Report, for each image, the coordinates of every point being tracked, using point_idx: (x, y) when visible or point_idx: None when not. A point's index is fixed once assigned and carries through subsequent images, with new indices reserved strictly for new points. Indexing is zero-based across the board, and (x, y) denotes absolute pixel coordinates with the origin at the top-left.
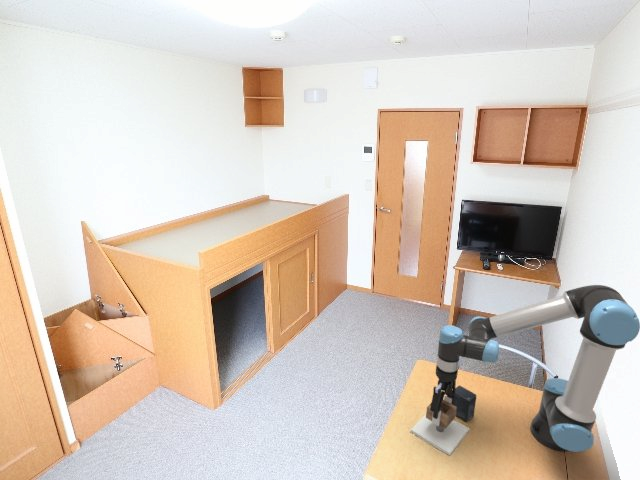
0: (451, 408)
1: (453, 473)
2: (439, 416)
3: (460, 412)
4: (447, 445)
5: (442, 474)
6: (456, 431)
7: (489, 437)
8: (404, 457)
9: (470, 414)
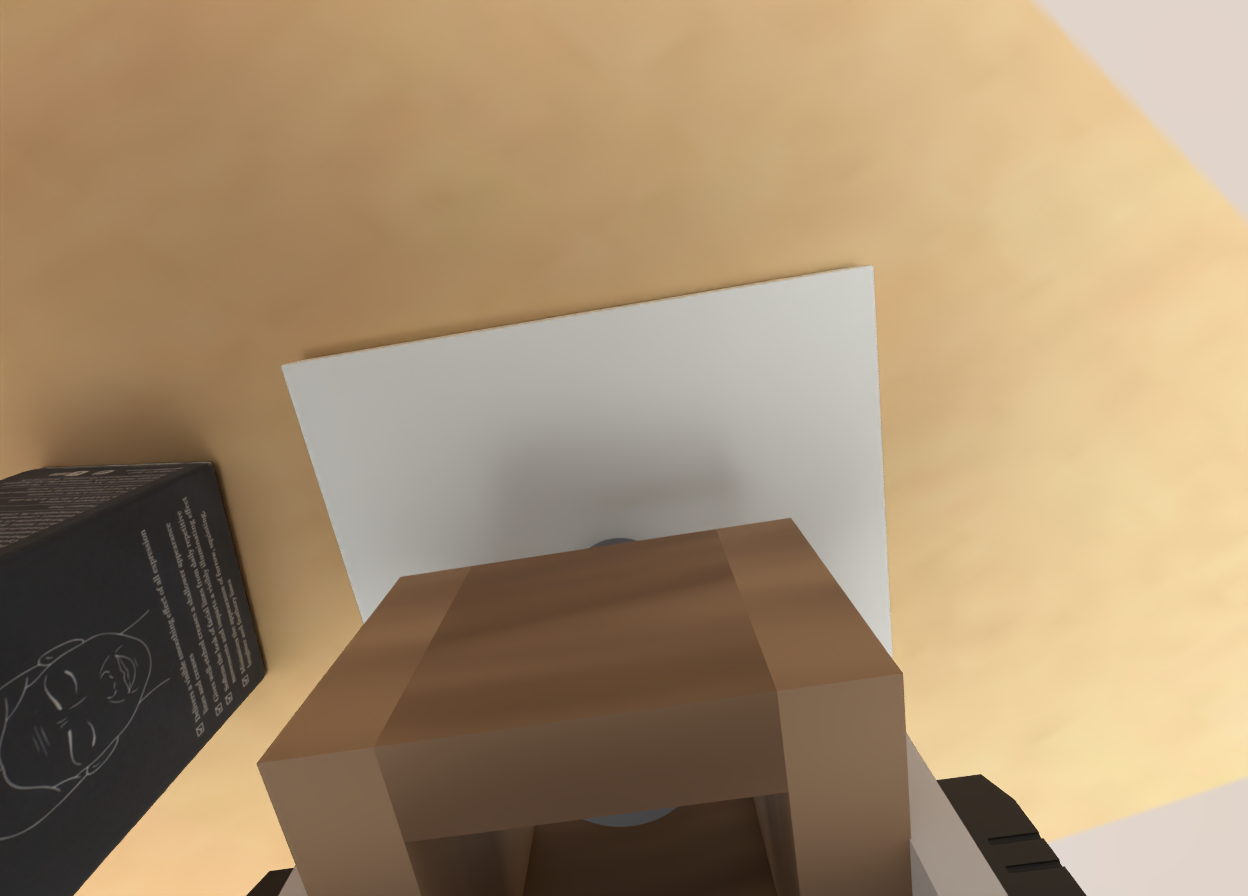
0: (450, 807)
1: (1068, 62)
2: (953, 808)
3: (172, 595)
4: (779, 368)
5: (1177, 148)
6: (476, 438)
7: (134, 108)
8: (1236, 569)
9: (60, 492)
